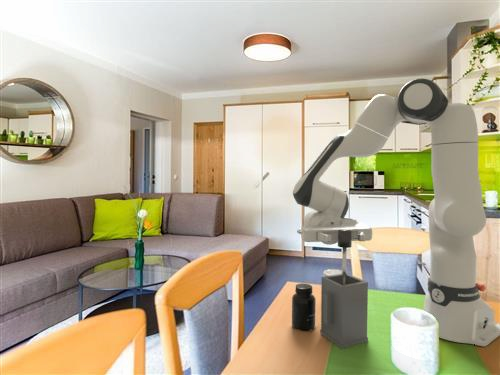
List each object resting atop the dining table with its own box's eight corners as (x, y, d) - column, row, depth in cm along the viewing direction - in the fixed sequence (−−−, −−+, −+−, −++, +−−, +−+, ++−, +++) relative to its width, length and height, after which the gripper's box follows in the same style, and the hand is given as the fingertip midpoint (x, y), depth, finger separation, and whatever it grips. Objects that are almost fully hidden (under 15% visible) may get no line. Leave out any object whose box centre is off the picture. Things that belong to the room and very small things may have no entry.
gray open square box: (345, 326, 96) (346, 272, 95) (368, 341, 88) (369, 282, 87) (314, 334, 92) (315, 277, 91) (335, 350, 83) (336, 288, 83)
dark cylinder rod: (345, 286, 93) (346, 227, 93) (360, 293, 88) (361, 231, 87) (328, 289, 91) (328, 229, 90) (342, 297, 86) (343, 233, 85)
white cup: (328, 294, 121) (328, 267, 120) (349, 299, 116) (350, 271, 115) (319, 301, 114) (319, 273, 114) (341, 307, 110) (342, 277, 109)
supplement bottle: (315, 332, 92) (315, 291, 92) (290, 330, 94) (291, 289, 93) (315, 321, 99) (315, 282, 99) (292, 319, 101) (292, 281, 100)
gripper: (295, 220, 100) (308, 228, 87) (359, 218, 102) (382, 226, 89) (295, 240, 101) (308, 251, 87) (359, 238, 103) (381, 249, 89)
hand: (346, 238), depth 88 cm, fingers open, 8 cm apart
